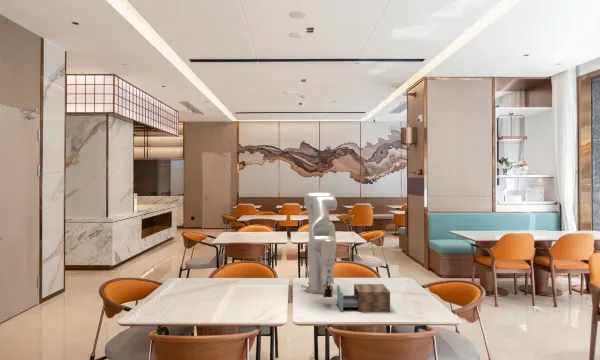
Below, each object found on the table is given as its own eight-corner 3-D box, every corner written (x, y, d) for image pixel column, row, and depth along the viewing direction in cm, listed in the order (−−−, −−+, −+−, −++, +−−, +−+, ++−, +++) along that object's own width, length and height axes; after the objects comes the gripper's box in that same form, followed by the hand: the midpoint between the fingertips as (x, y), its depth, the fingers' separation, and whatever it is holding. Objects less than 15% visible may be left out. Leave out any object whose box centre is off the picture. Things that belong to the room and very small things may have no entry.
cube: (323, 297, 216) (323, 287, 215) (322, 294, 221) (322, 285, 220) (332, 297, 216) (332, 287, 216) (331, 294, 221) (331, 285, 220)
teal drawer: (340, 310, 207) (340, 292, 207) (337, 301, 223) (337, 285, 223) (371, 310, 208) (371, 292, 208) (365, 301, 223) (365, 285, 223)
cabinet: (359, 311, 207) (359, 292, 207) (353, 302, 223) (354, 284, 223) (390, 311, 208) (390, 292, 208) (382, 302, 224) (382, 284, 224)
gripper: (336, 265, 209) (336, 300, 210) (333, 257, 226) (332, 290, 227) (322, 265, 209) (321, 300, 210) (319, 257, 226) (319, 290, 227)
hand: (327, 294), depth 218 cm, fingers closed on cube, 4 cm apart
